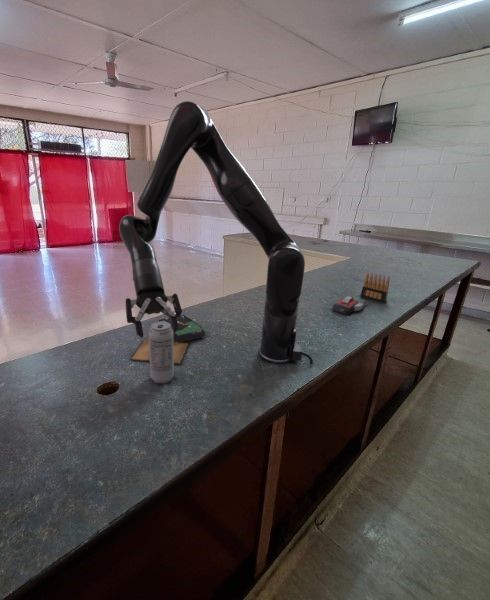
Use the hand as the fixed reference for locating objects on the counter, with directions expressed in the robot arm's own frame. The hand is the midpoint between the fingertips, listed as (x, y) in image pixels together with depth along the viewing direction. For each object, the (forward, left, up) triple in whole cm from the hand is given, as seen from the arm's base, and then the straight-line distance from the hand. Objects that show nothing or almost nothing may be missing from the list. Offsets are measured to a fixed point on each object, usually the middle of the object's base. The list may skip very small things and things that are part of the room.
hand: (158, 334), depth 80 cm
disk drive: (0, -25, -11) cm, 27 cm away
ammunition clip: (-78, -74, -11) cm, 108 cm away
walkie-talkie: (-65, -61, -11) cm, 90 cm away
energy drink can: (-1, +2, -11) cm, 12 cm away
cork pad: (+3, -11, -11) cm, 16 cm away
